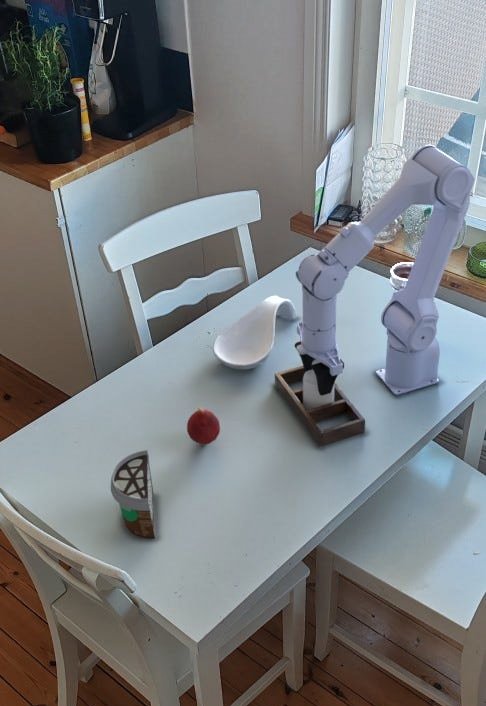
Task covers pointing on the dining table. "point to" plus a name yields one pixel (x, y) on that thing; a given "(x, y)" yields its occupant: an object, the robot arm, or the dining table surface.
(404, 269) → the white round hollow piece
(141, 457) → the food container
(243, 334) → the spoon rest
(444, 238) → the robot arm
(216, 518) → the dining table surface
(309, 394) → the eye dropper bottle
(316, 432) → the spice rack
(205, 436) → the onion
